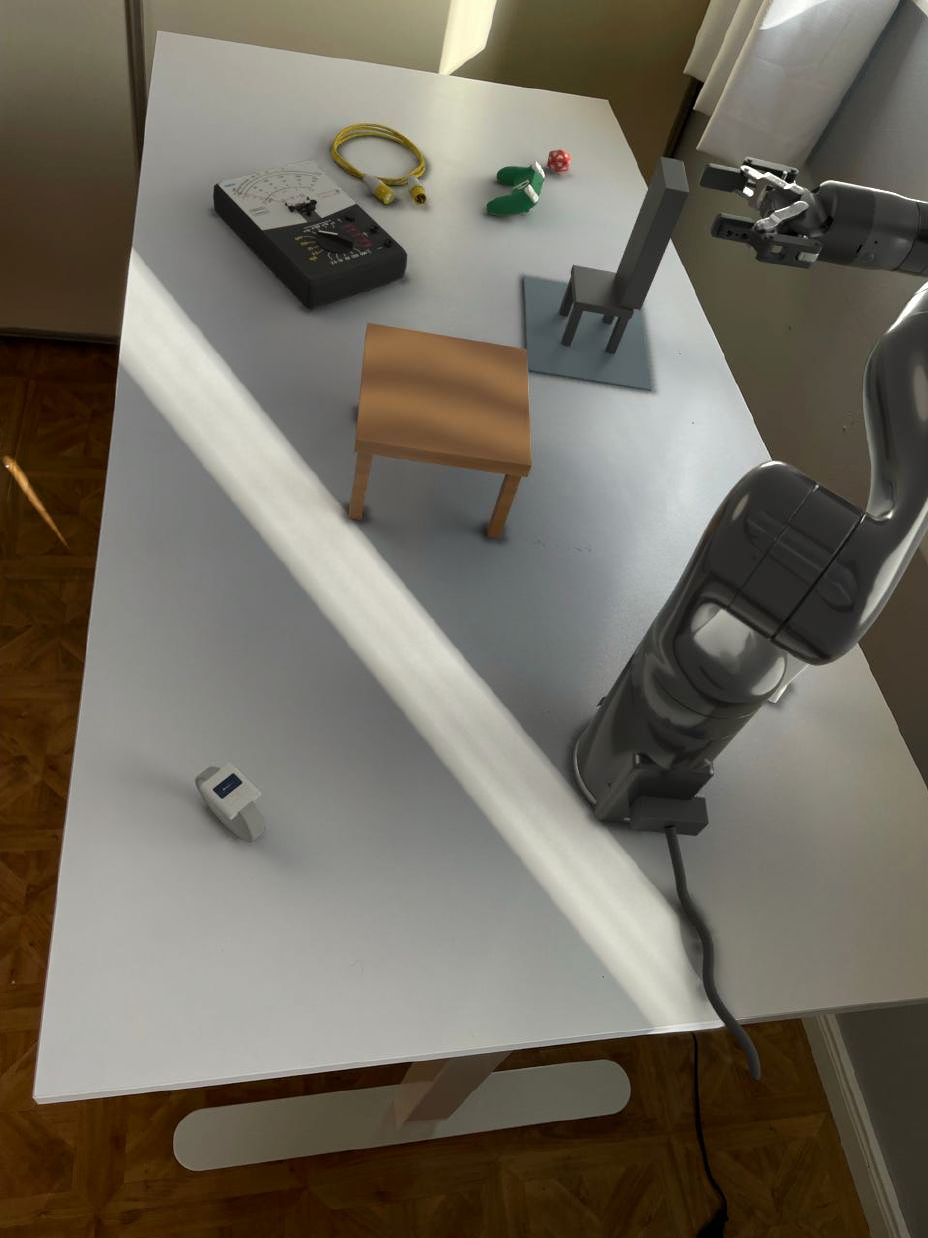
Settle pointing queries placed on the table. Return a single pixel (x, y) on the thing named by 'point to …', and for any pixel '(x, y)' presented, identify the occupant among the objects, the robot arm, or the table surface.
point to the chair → (630, 259)
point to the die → (558, 160)
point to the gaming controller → (518, 190)
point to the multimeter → (309, 232)
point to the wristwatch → (232, 800)
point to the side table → (443, 409)
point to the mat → (581, 341)
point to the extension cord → (375, 183)
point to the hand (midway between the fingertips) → (707, 198)
